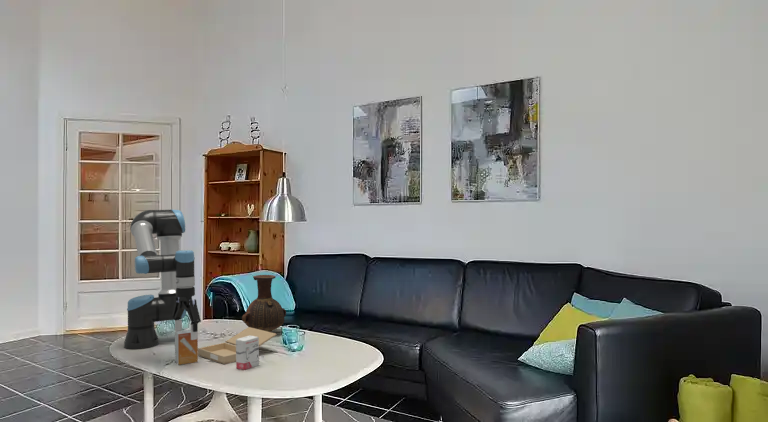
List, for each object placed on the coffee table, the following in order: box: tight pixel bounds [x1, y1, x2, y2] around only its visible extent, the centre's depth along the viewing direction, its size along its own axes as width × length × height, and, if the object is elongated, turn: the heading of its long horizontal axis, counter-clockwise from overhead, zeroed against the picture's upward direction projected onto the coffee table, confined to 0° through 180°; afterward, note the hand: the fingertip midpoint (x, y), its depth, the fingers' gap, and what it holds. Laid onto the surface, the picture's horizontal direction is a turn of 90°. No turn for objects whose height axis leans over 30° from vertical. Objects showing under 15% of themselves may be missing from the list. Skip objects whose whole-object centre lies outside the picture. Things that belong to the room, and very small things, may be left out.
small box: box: [174, 329, 199, 366], centre depth 232 cm, size 8×6×13 cm
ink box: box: [235, 336, 260, 371], centre depth 224 cm, size 9×5×12 cm, turn 148°
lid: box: [224, 326, 277, 347], centre depth 250 cm, size 22×14×1 cm, turn 47°
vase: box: [241, 274, 287, 333], centre depth 283 cm, size 25×20×30 cm
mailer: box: [198, 342, 236, 365], centre depth 240 cm, size 21×14×3 cm, turn 47°
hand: (186, 337), depth 232 cm, fingers open, 13 cm apart
